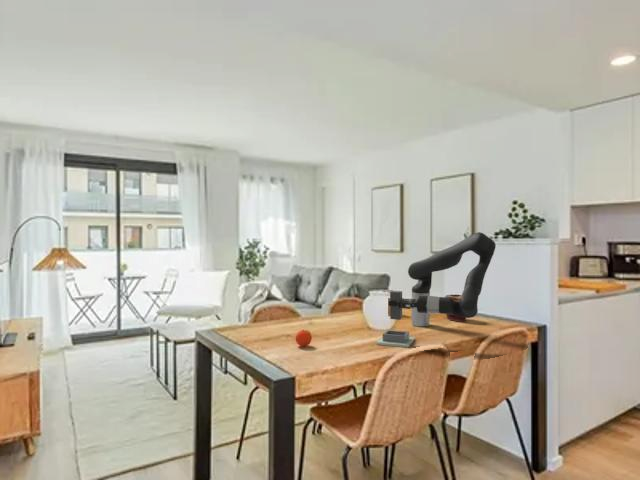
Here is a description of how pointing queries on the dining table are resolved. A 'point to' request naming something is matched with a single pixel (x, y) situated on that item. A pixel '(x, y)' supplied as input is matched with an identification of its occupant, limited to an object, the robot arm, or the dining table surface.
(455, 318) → the decorative planter
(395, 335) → the dock
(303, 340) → the red rounded piece
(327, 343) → the dining table surface
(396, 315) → the dark grey block
